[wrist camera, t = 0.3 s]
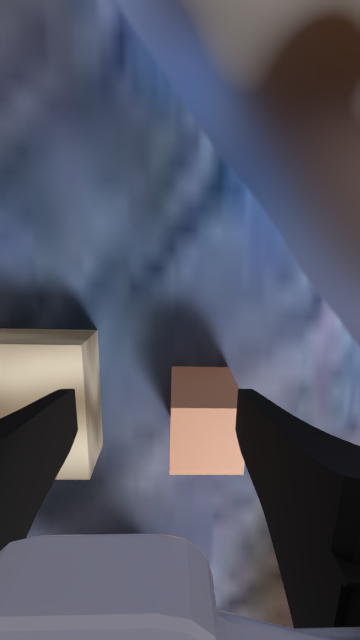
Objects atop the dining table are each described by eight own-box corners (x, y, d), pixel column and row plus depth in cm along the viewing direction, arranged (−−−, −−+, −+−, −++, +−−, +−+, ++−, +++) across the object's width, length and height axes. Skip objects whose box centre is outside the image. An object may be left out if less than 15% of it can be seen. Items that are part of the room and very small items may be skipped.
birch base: (104, 441, 23) (89, 479, 19) (-16, 441, 22) (-56, 479, 19) (98, 328, 20) (81, 345, 17) (-35, 326, 20) (-84, 342, 16)
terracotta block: (224, 417, 22) (243, 474, 16) (170, 416, 22) (169, 474, 16) (228, 366, 21) (249, 408, 15) (171, 366, 21) (171, 408, 15)
